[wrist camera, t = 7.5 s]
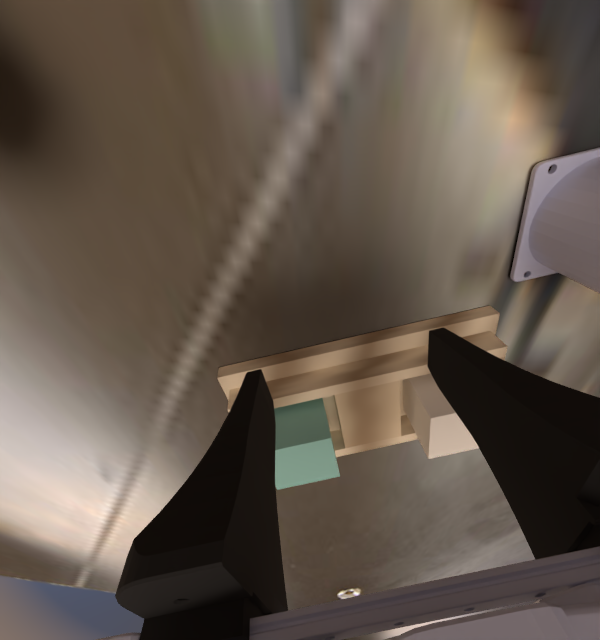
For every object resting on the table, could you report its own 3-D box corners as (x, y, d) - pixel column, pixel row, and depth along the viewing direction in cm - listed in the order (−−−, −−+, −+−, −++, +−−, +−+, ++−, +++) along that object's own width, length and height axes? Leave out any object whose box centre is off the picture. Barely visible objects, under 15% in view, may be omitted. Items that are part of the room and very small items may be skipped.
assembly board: (489, 305, 24) (518, 328, 21) (472, 405, 30) (492, 432, 28) (218, 367, 24) (213, 397, 22) (260, 452, 31) (259, 483, 28)
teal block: (319, 385, 25) (330, 438, 21) (328, 423, 28) (340, 476, 23) (260, 398, 25) (260, 453, 21) (275, 434, 28) (277, 489, 24)
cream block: (462, 355, 25) (503, 402, 20) (457, 396, 27) (492, 445, 23) (402, 368, 25) (430, 418, 21) (403, 408, 28) (428, 459, 23)
